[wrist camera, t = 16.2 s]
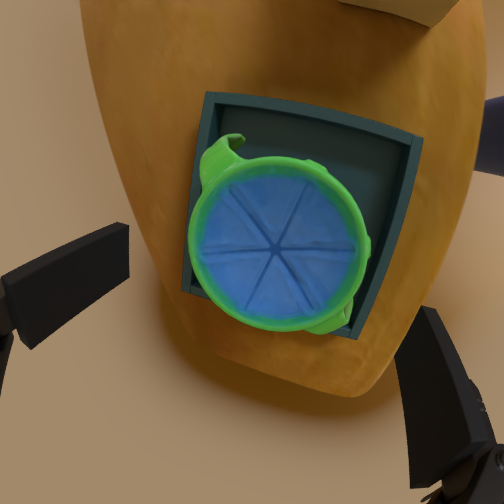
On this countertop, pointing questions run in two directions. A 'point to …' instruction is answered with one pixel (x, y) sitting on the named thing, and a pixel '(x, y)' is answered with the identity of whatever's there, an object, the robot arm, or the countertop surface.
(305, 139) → the tray
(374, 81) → the countertop surface
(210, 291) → the snack cup
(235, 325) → the countertop surface
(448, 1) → the cheese
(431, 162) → the countertop surface
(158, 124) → the countertop surface
